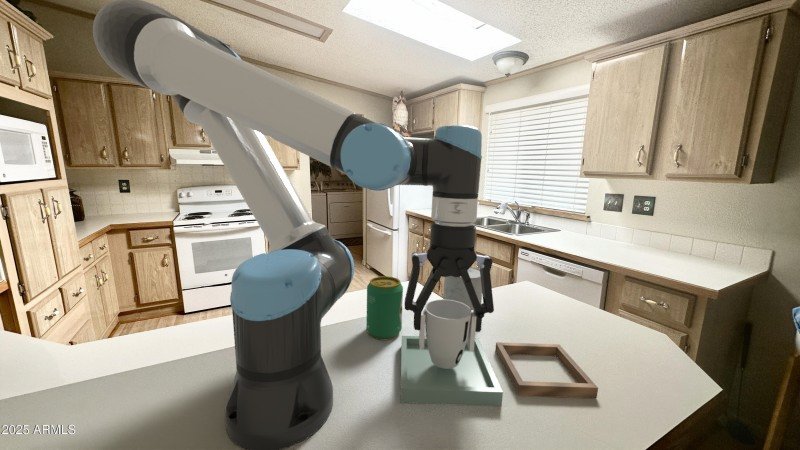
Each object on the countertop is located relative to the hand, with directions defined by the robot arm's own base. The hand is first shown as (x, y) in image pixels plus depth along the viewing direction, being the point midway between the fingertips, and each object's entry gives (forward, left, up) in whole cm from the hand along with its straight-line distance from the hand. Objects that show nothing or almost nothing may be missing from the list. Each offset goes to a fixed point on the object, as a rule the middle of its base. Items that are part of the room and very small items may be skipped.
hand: (445, 346), depth 56 cm
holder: (+18, +1, -5) cm, 19 cm away
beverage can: (-12, +14, -5) cm, 19 cm away
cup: (0, 0, -3) cm, 3 cm away
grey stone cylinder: (+7, +22, -5) cm, 24 cm away
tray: (0, 0, -5) cm, 5 cm away
